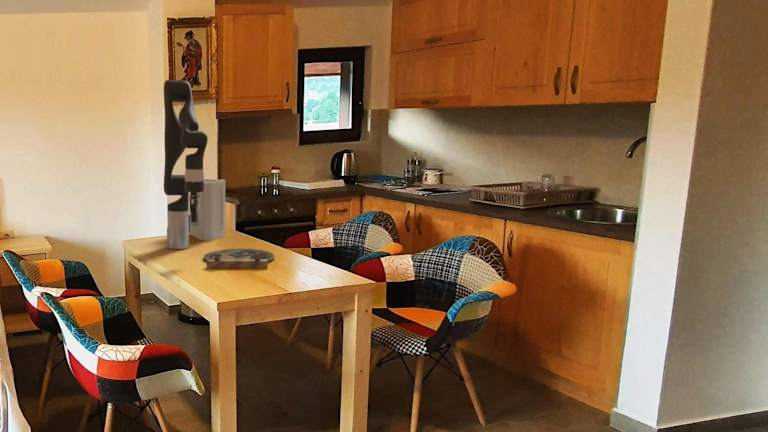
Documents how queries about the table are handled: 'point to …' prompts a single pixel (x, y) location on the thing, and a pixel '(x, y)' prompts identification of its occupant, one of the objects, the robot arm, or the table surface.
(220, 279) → the table surface
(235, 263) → the bench stop
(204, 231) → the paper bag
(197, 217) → the dowel
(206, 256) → the decorative plate
